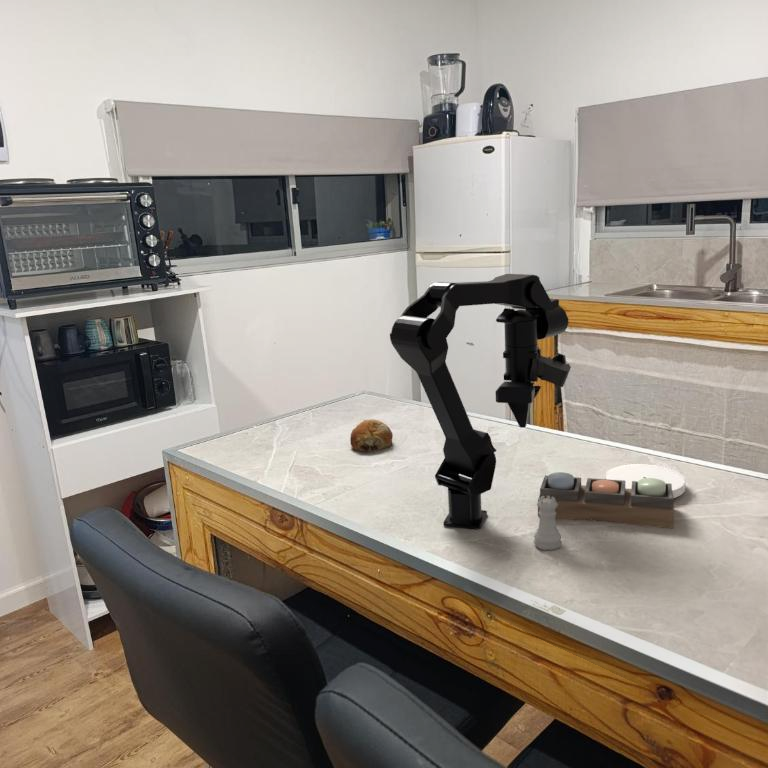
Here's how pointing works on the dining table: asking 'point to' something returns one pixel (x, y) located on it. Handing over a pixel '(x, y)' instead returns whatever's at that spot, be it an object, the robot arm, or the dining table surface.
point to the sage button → (651, 487)
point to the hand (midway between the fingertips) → (522, 426)
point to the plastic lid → (647, 476)
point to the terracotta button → (605, 486)
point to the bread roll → (371, 436)
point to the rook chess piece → (547, 525)
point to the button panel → (612, 504)
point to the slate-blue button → (561, 481)
